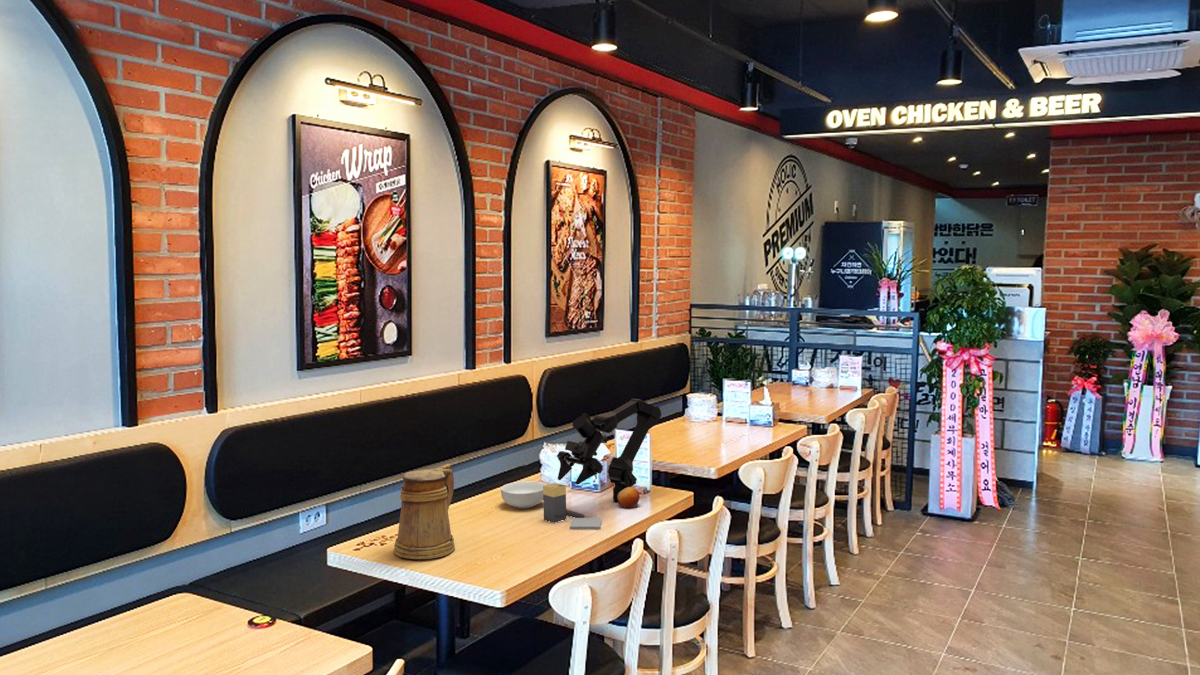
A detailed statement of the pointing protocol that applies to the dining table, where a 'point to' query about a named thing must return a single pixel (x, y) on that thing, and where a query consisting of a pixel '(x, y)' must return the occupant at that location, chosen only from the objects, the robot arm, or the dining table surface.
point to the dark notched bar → (574, 514)
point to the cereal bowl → (523, 493)
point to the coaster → (585, 523)
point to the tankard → (425, 514)
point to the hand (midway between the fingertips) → (567, 481)
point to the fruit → (628, 497)
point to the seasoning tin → (554, 502)
